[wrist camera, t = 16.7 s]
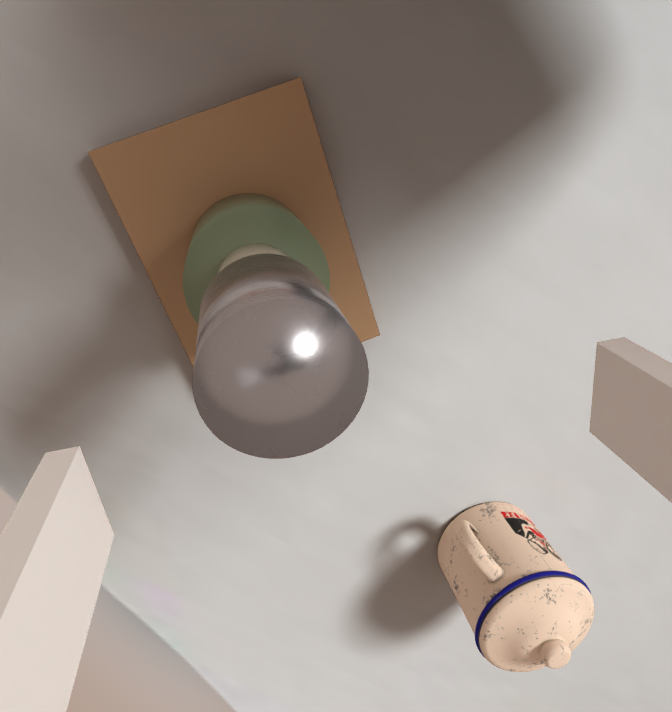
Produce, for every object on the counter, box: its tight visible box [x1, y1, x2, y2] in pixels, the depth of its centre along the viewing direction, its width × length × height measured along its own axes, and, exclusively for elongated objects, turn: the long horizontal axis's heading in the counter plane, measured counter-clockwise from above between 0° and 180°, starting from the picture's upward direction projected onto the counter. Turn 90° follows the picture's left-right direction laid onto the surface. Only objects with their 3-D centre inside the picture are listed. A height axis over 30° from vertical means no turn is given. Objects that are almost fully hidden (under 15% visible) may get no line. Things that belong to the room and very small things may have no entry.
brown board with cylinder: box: [88, 77, 380, 367], centre depth 27 cm, size 16×12×13 cm
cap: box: [193, 253, 369, 458], centre depth 19 cm, size 5×5×6 cm
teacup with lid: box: [438, 502, 594, 672], centre depth 41 cm, size 12×9×12 cm
